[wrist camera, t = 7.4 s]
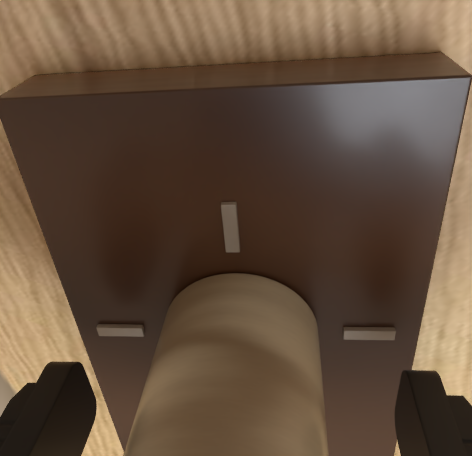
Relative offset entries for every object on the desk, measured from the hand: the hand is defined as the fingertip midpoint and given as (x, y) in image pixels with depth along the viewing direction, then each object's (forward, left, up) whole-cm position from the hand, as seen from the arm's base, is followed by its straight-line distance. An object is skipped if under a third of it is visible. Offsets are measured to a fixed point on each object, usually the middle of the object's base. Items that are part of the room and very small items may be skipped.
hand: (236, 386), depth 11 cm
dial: (0, 0, -2) cm, 2 cm away
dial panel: (0, 0, -4) cm, 4 cm away
